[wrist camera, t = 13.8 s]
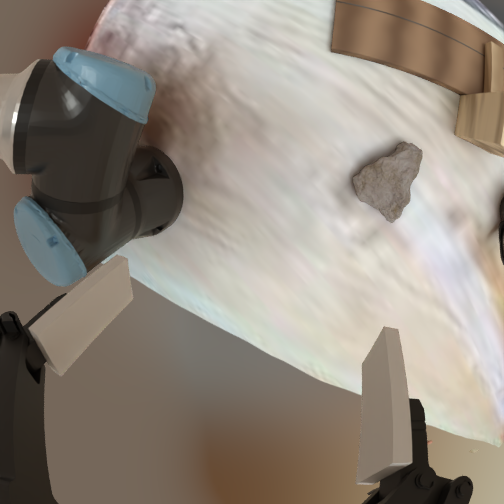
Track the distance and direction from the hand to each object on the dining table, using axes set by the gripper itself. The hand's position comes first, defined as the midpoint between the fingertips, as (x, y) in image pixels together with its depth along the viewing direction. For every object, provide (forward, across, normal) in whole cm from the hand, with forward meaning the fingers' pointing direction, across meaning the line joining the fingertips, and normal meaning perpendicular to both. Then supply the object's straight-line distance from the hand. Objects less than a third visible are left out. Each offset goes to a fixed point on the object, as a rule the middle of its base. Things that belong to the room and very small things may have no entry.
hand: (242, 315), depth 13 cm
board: (+27, +15, +25) cm, 40 cm away
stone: (+27, +11, +4) cm, 30 cm away
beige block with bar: (+27, +23, +21) cm, 41 cm away
